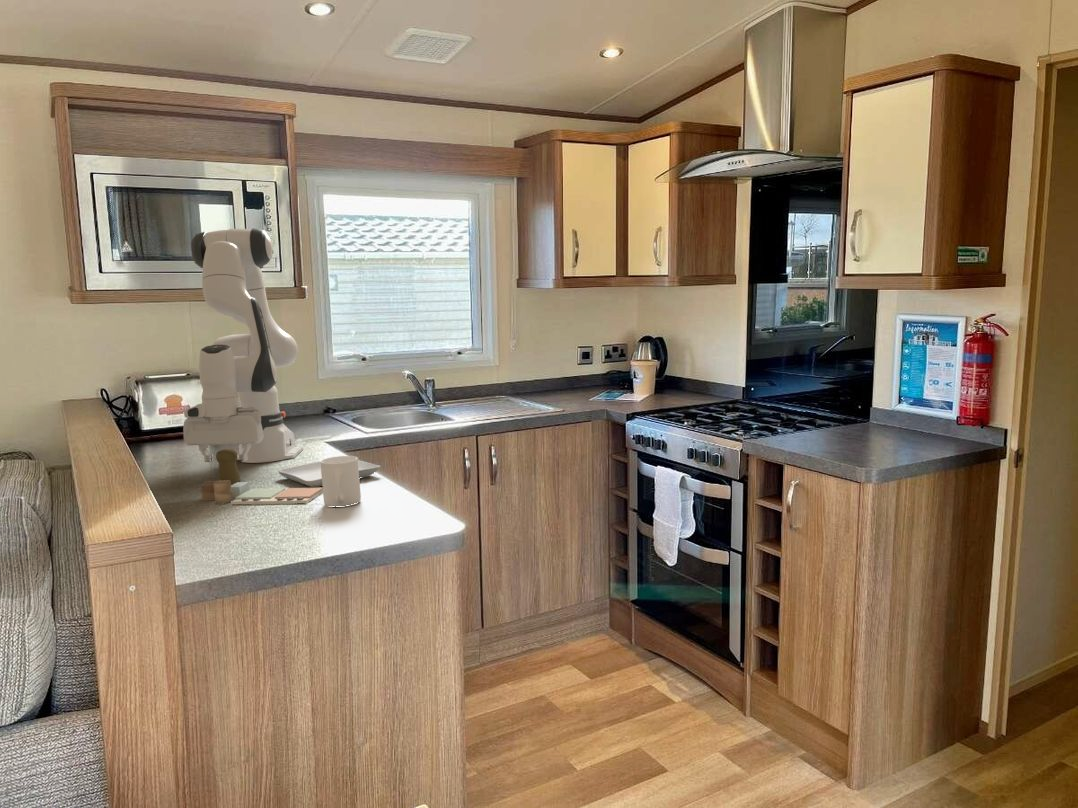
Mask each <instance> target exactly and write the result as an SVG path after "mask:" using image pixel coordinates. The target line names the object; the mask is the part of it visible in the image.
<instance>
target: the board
mask: <svg viewBox="0 0 1078 808" xmlns="http://www.w3.org/2000/svg"><path fill="white" fill-rule="evenodd" d="M322 492H323V487H289V488H286V487H279V488H276V487H275V488H274V487H273V488H251V489H250V488H249V491H247V492H245V493H243V494H241V495H239V496H238V497H236V498H234V499H233V501H232V502H230V504H231V505H232V504H251V505H297V503H307V504H308V503H310V502H311V501H313V500H314V499H315V497H316V496H317V497H318V495H319V494H320V495H321V493H322ZM322 494H323V493H322ZM320 495H319V496H320ZM317 497H316V498H317ZM313 498H314V499H313ZM312 499H313V500H312ZM309 501H310V502H309ZM295 503H296V504H295Z"/></svg>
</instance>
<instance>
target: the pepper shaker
mask: <svg viewBox="0 0 1078 808" xmlns="http://www.w3.org/2000/svg"><path fill="white" fill-rule="evenodd" d="M237 456H238V452H237V451H236V449H235V448H225V449H220V450H218V451H217V452H216V454H215V457H216V458H215V459H216V461H217V463H218V480H217V481H221V480H230V481H231V485H233V484H235V483H237V482H241V478H240V474H239V469H238V465H237V461H238V460H237Z"/></svg>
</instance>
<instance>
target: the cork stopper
mask: <svg viewBox="0 0 1078 808" xmlns="http://www.w3.org/2000/svg"><path fill="white" fill-rule="evenodd" d="M216 481H217V482H214V483H213V485H214V494H215V500H214V503H215V504H216V505H217V504H218V505H220V504H221V505H223V503H224V504H228V502H229V503H231V501H233V500H234V498H232V489H231V481H230V480H222V481H218V480H216Z"/></svg>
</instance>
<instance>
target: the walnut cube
mask: <svg viewBox="0 0 1078 808" xmlns="http://www.w3.org/2000/svg"><path fill="white" fill-rule="evenodd" d="M217 481H218V480H211V481H210V480H209V481H205V482H203V483H202V484H201V485H200V489H201V496H202V498H201V499H202V501H203V502H204V501H215V494H214V485H213V483H214V482H217ZM221 481H222V480H221Z"/></svg>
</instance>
